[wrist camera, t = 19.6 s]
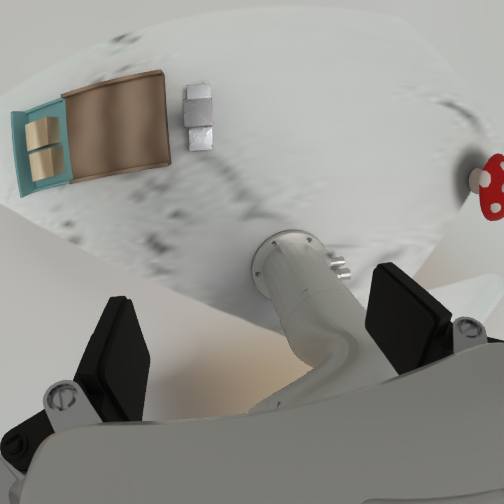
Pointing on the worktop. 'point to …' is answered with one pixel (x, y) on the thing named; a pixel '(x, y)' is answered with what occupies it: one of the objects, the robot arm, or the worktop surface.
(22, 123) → the teal tray
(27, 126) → the oak block
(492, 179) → the decorative mushroom
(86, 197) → the worktop surface
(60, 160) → the oak block
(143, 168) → the walnut channel
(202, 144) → the grey stepped block
